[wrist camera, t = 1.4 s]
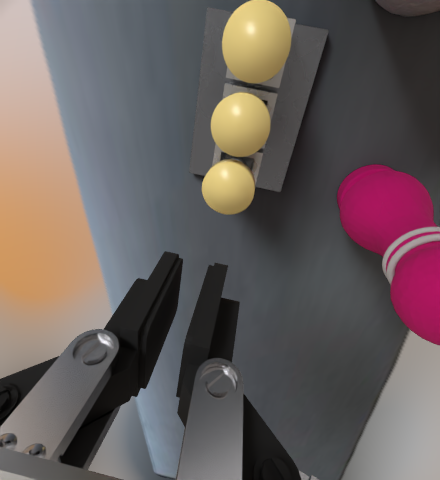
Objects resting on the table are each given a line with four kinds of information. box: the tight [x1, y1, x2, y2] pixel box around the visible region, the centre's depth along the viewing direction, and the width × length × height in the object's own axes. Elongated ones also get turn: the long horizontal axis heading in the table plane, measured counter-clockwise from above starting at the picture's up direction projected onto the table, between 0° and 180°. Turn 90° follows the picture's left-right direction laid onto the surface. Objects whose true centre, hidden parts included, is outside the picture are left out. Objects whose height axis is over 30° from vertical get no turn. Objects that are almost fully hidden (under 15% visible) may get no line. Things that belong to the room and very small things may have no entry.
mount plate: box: [189, 7, 329, 192], centre depth 25 cm, size 14×10×5 cm
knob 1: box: [222, 0, 291, 83], centre depth 19 cm, size 4×4×6 cm
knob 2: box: [211, 92, 270, 157], centre depth 21 cm, size 4×4×6 cm
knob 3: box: [202, 157, 255, 214], centre depth 23 cm, size 4×4×6 cm
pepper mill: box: [337, 164, 440, 345], centre depth 21 cm, size 7×7×20 cm
